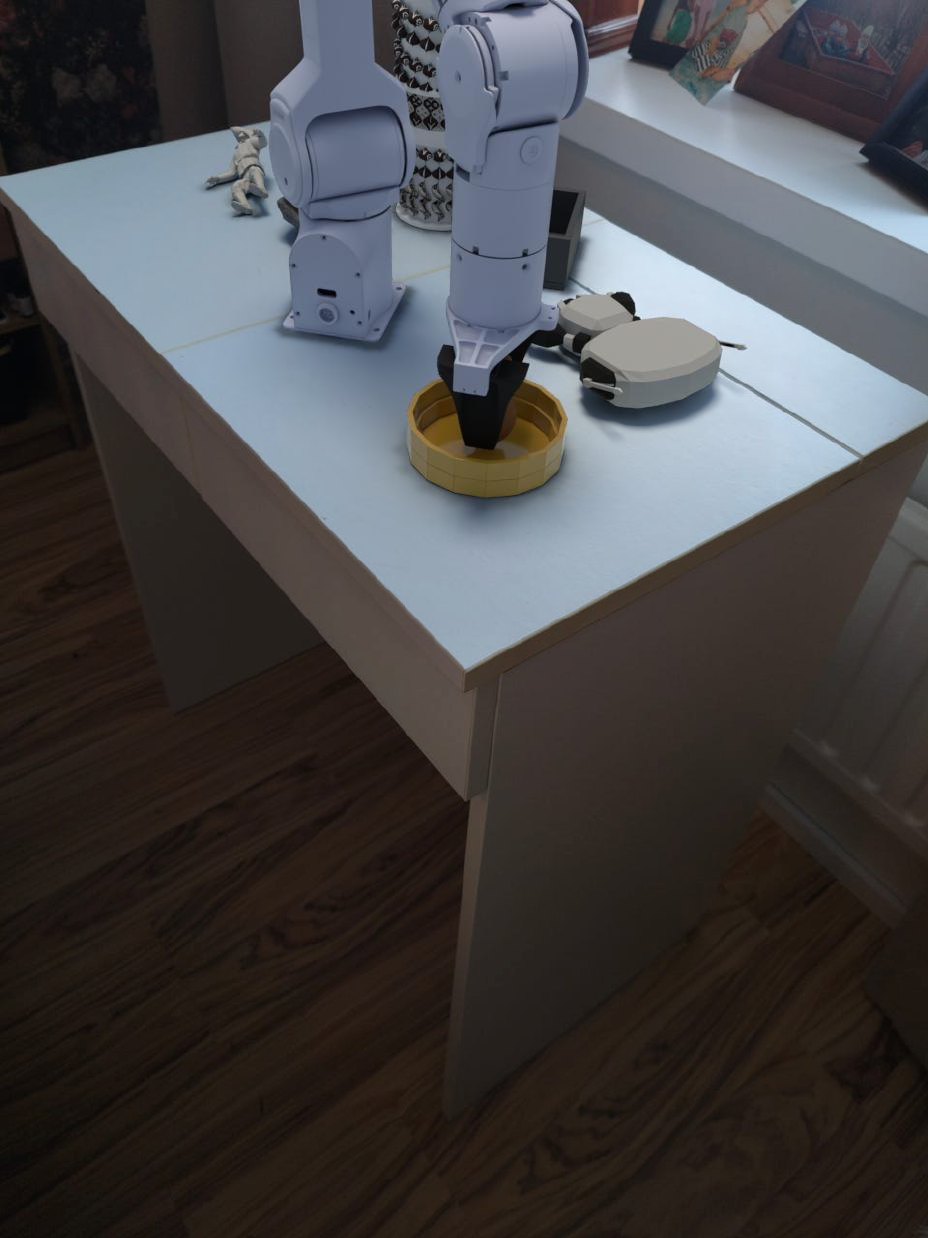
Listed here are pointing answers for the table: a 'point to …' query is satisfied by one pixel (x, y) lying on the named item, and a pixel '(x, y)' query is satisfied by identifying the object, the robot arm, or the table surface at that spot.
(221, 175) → the soldier figure
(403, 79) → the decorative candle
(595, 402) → the table surface
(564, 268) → the bin
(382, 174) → the robot arm
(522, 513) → the table surface
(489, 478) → the bowl
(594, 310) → the robot toy
